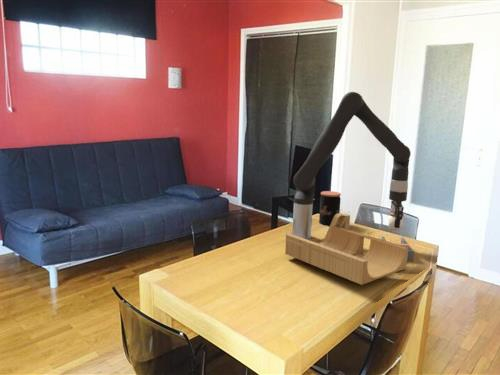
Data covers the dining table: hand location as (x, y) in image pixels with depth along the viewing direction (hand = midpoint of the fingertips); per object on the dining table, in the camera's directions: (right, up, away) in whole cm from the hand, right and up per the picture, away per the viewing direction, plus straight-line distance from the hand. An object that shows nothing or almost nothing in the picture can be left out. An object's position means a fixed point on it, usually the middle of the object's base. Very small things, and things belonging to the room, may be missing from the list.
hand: (395, 225), depth 198 cm
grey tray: (-1, -12, -4) cm, 13 cm away
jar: (0, -1, 0) cm, 1 cm away
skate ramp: (-25, -14, -16) cm, 33 cm away
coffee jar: (-23, -3, +39) cm, 46 cm away
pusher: (-2, -12, -10) cm, 16 cm away
